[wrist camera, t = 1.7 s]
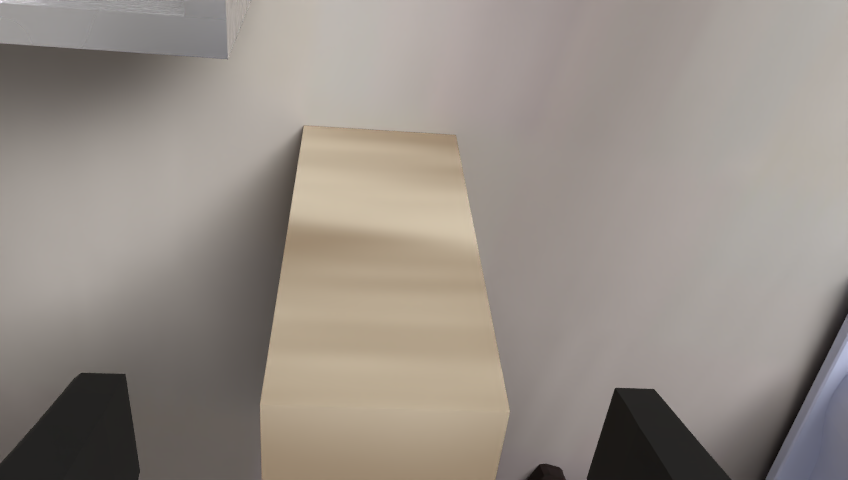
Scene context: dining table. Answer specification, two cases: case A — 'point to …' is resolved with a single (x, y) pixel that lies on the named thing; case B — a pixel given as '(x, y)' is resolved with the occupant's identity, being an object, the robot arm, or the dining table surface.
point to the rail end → (381, 319)
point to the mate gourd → (547, 473)
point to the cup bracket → (126, 25)
